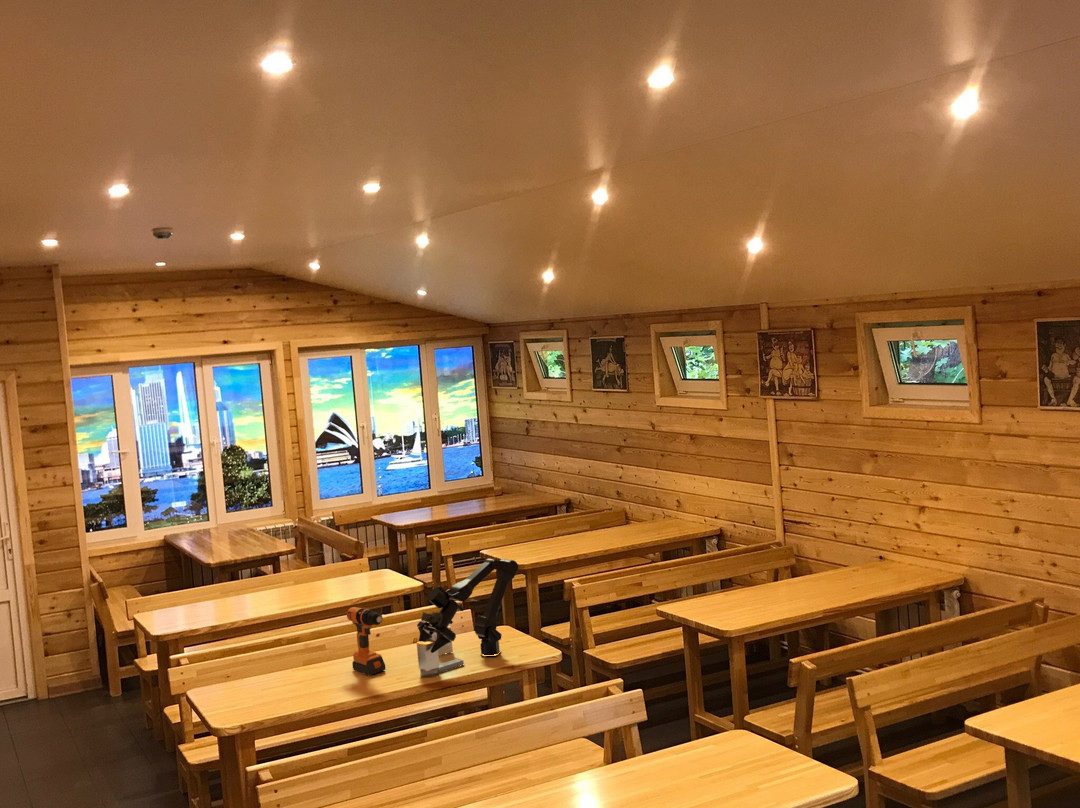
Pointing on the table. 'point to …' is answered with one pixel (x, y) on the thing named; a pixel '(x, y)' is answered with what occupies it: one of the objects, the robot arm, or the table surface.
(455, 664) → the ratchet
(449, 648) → the light bulb box
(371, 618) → the power drill
